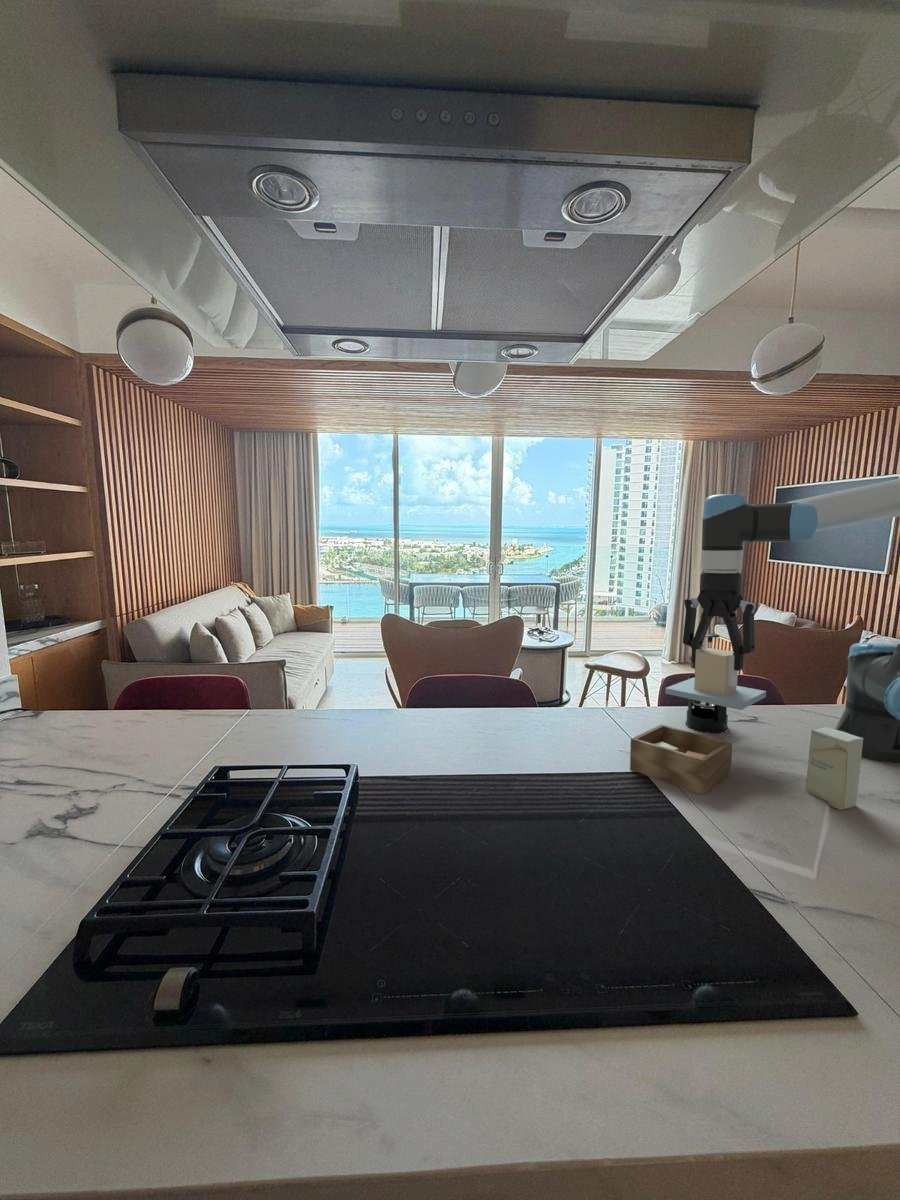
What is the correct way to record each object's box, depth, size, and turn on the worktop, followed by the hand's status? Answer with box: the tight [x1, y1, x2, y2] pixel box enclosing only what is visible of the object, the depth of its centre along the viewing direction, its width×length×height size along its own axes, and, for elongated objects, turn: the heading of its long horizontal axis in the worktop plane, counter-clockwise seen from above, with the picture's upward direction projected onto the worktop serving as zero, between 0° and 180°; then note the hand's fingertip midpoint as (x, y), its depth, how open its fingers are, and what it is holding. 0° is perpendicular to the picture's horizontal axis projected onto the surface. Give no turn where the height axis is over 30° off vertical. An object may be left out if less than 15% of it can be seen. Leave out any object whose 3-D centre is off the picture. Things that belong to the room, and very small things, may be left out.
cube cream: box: [655, 742, 679, 751], centre depth 103 cm, size 4×4×4 cm
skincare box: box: [805, 725, 863, 811], centre depth 90 cm, size 6×4×12 cm
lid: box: [664, 647, 767, 711], centre depth 108 cm, size 15×13×9 cm
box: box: [629, 724, 733, 796], centre depth 100 cm, size 14×12×7 cm
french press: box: [685, 632, 729, 734], centre depth 125 cm, size 12×9×23 cm
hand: (715, 681), depth 109 cm, fingers closed on lid, 6 cm apart
